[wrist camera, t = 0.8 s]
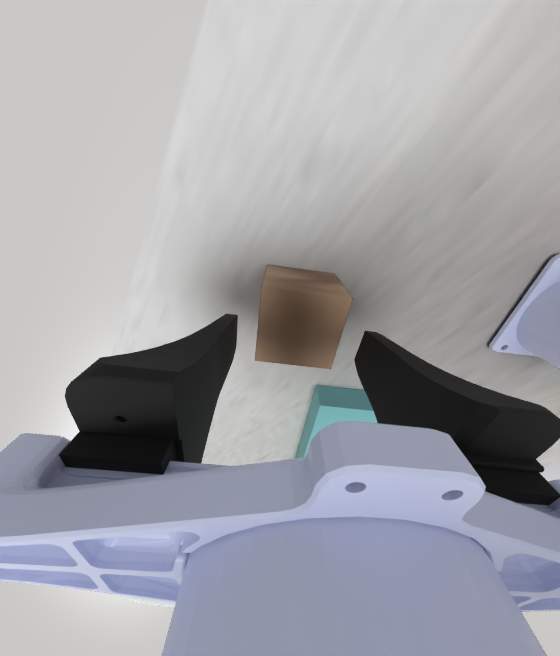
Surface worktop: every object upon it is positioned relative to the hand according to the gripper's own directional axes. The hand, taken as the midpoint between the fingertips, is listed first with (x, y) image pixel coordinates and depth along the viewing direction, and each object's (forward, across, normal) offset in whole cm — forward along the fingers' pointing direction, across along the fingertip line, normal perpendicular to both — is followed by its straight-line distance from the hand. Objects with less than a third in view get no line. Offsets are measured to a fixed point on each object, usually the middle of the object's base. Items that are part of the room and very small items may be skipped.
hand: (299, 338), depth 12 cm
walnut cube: (+6, 0, 0) cm, 6 cm away
